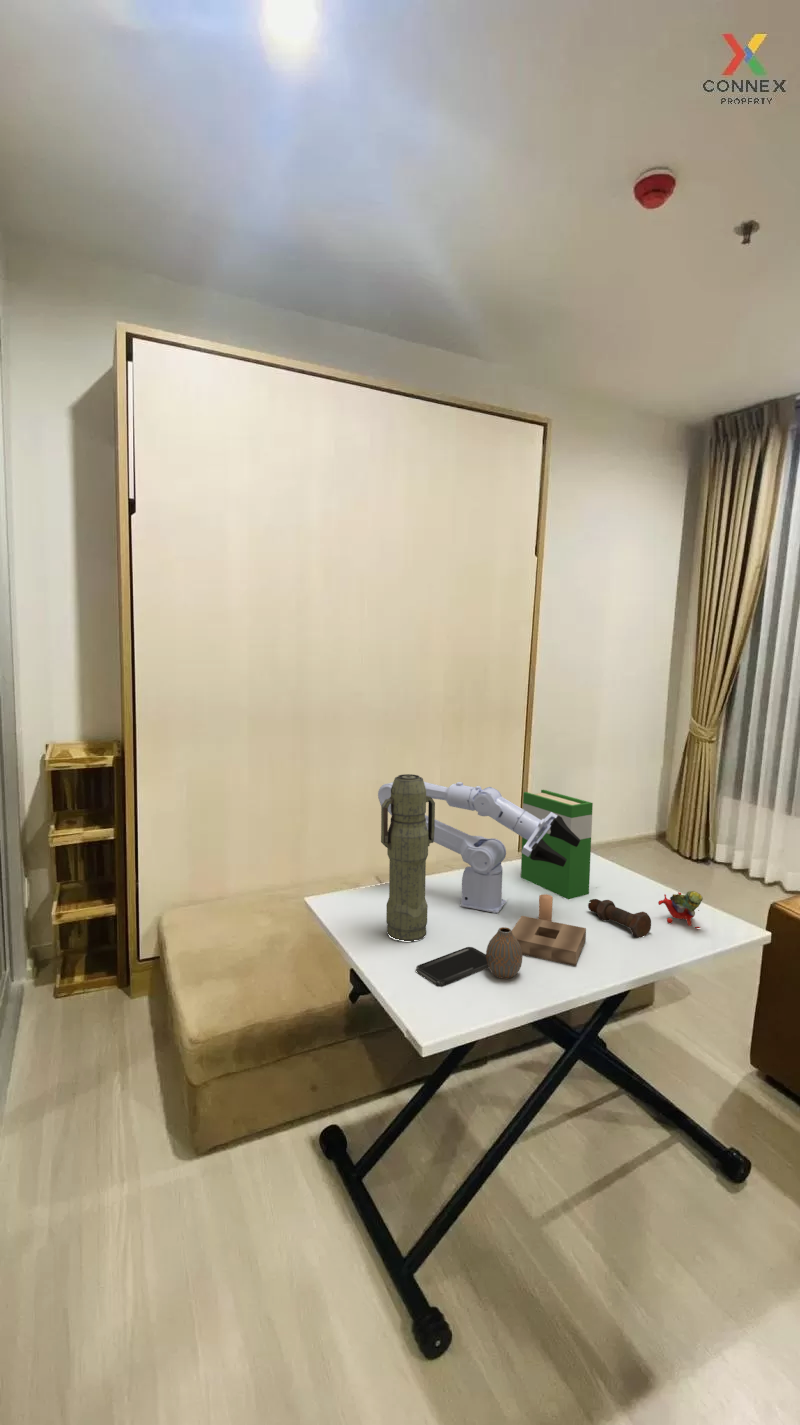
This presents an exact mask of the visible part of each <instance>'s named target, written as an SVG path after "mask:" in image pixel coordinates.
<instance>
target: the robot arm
mask: <svg viewBox="0 0 800 1425" xmlns="http://www.w3.org/2000/svg"><path fill="white" fill-rule="evenodd" d="M393 782H394V781H392V782H388V783H383V784H382V785H381V786H380V787H379V789H378V791H377V796H378V802H379V804H380V805H379V806H380V807H381V806H382V804H383V803H384V801H385V800H386V799H389V798H390V797H391V788H392V785H393ZM424 784H425V788H426V796H430V797H431V798H432V799H433V800H441V801H445V802H446V803H447V805H448V806H449V807H452V808H457V809H462V810H468V811H473V812H474V811H476V813H477V816H480V817H490V819H492V820H495V821H496V822H497V823H499V824H501V825H502V826H504V827H505V828H507V829H508V830H510V831H511V832H514V833H515V834H516V835H518V836H520V837H521V838H522V837H523V838H525V839H526V840H528V841H527V843H526V844H525V845H524V847H523V849H522V848H521V851H520V852H521V854H522V853H523V854H524V855H526V856H527V857H529V856H530V854H531V857H530V858H531V859H532V860H538V861H546V862H550V863H553V864H556V865H559V866H562V867H563V866H564V865H565V863H566V861H567V859H566V858H565V857H563V856H562V855H560V854H559V853H557V852H556V851H554V850H553V849H552V848H551V847H550V846H548V845H547V844H546V843H545V841H544V840H543V839H542V838H543V836H544V835H545V834H546V833H547V831H548V830H549V829H550V831H551V832H550V836H552V837H556V838H559V839H561V840H564V841H565V842H567V843H569V844H571V845H573V846H575V847H577V846H578V845H579V842H580V839H579V838H578V837H577V836H576V835H575V834H574V833H573V832H572V831H571V830H570V829H569V828H568V826H567V825H566V824H565V822H564V821H563V819H562V817H560V816H559V815H558V816H557V815H556V814H554V813H552V812H551V813H550V814H549V815H548V816H547V817H546V818H545V819H542V820H540V819H539V818H537V817H535V816H534V815H532V814H530V813H528V812H527V811H525V810H524V809H523V807H522V808H521V807H520V806H518V805H517V804H515V803H514V802H512V801H510V800H508V799H506V798H505V797H503V795H502V793H501V791H499V790H498V789H496V788H494V787H492V786H488V787H485V788H483V789H482V786H480V785H476V786H471V785H470V786H469V785H464V782H461V781H457V782H456V783H452V784H451V785H450V786H443V785H440V784H436V783H431V782H427V781H424ZM388 814H389V815H391V817H392V813H391V804H390V805H389V807H388ZM425 818H426V826H427V829H428V815H427V814H425ZM542 832H543V833H542ZM541 834H542V835H541ZM540 835H541V836H540ZM428 838H429V837H428ZM538 838H539V839H538ZM433 843H435V844H437V845H439V846H441V847H444V848H446V849H448V850H449V851H452V852H454V853H457V854H458V855H460V856H461V858H462V859H461V860H462V862H464V863H466V864H468V865H469V866H466V867H465V868H464V870H463V873H462V877H461V903H460V904H459V905H460V907H463V908H468V909H472V910H478V911H483V912H489V913H494V914H499V912H501V910H502V909H503V907H505V904H506V903H507V900H506V899H503V898H502V896H503V866H502V862H503V861H504V860H505V859H506V855H507V850H506V846H505V844H504V842H502V841H501V840H500V839H498V838H493V837H492V838H487V837H484V836H482V835H470V834H468V833H467V832H464V831H462V830H459V829H457V828H455V827H453V826H451V825H449V824H446V823H444V822H442V821H440V820H437V819H435V830H434V842H433Z"/></svg>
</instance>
